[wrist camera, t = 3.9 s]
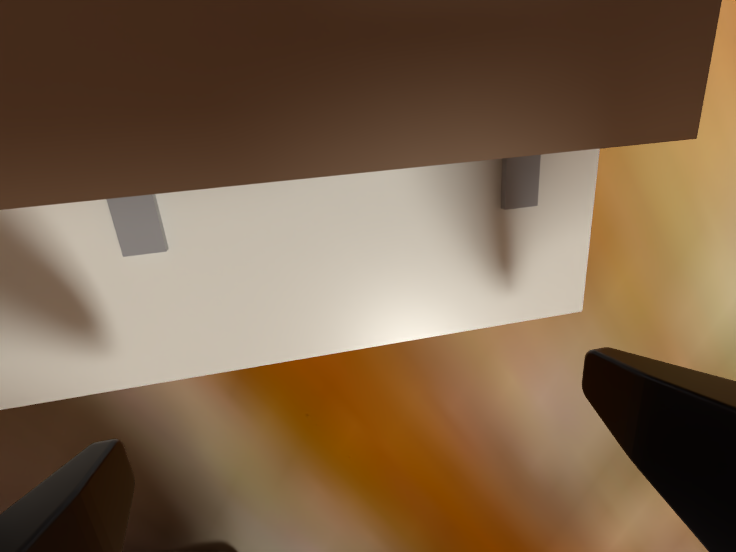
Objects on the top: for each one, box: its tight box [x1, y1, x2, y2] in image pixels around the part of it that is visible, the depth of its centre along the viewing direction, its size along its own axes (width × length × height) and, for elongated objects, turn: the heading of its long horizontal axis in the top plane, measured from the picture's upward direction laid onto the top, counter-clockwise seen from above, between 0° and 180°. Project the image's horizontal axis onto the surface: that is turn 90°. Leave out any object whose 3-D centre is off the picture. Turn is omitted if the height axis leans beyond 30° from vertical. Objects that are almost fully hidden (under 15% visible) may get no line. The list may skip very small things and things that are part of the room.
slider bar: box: [0, 0, 722, 210], centre depth 7 cm, size 3×10×3 cm, turn 95°
